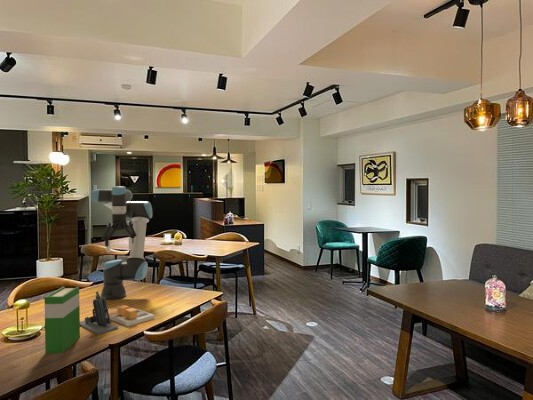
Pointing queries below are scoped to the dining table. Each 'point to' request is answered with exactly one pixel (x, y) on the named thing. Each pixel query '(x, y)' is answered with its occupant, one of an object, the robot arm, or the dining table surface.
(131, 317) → the orange block
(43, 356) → the dining table surface
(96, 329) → the mat
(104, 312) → the gun
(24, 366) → the dining table surface
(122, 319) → the light grey tray
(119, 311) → the orange wooden block
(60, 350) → the hardback book
